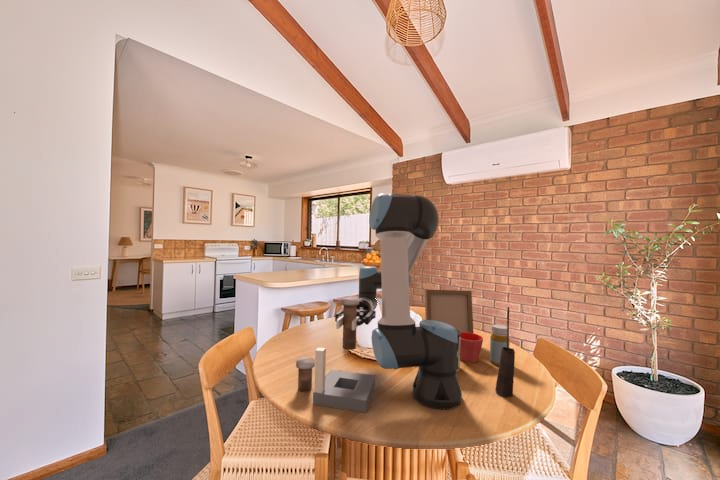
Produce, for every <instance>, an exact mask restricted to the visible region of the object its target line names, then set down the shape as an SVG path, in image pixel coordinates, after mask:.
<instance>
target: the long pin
mask: <svg viewBox="0 0 720 480" xmlns="http://www.w3.org/2000/svg"><path fill="white" fill-rule="evenodd" d="M340 304H341V305H343V307H342V308H343V325H342V349H344V350H347V351H351V350H355V349H356V348H357V328H356V329H355V330H352V321H353V320H354V319H355V318H356V317H357V305H359V297H352V296H351V297H342V298H341V299H340Z"/></svg>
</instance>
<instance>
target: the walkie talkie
mask: <svg viewBox="0 0 720 480" xmlns="http://www.w3.org/2000/svg"><path fill="white" fill-rule="evenodd" d="M506 315H507V317H506V318H507V320H506V322H507V323H506V326H507V347H502V350H501V357H500V363H499V366H498V372H497V377H496V382H495V383H496V384H495V393H496V394H497V395H499V396H501V397H504V398H509V397H513V395H514V382H515V381H514V377H515V376H514V374H515V358H516V357H515V353H516V352H515V349H514V348H511V347H510V337H509V335H510V330H509V326H510V307H509V306H507V314H506ZM508 342H509V343H508Z"/></svg>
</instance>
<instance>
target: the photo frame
mask: <svg viewBox="0 0 720 480" xmlns="http://www.w3.org/2000/svg"><path fill="white" fill-rule="evenodd" d="M424 300H425V301H424V303H425V305H424V306H425V307H424V309H425V310H424V311H425V314H424V315H425V317H424V318H425V319H424V320H434V321H439V322H443V323H446V324H449V325H451V326H453V327H454V328H455V329H457V330H459V331H460V332H469V333H474V320H473V318H474V316H473V299H472V290H456V289H455V290H452V289H449V290H447V289H425V290H424Z"/></svg>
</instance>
